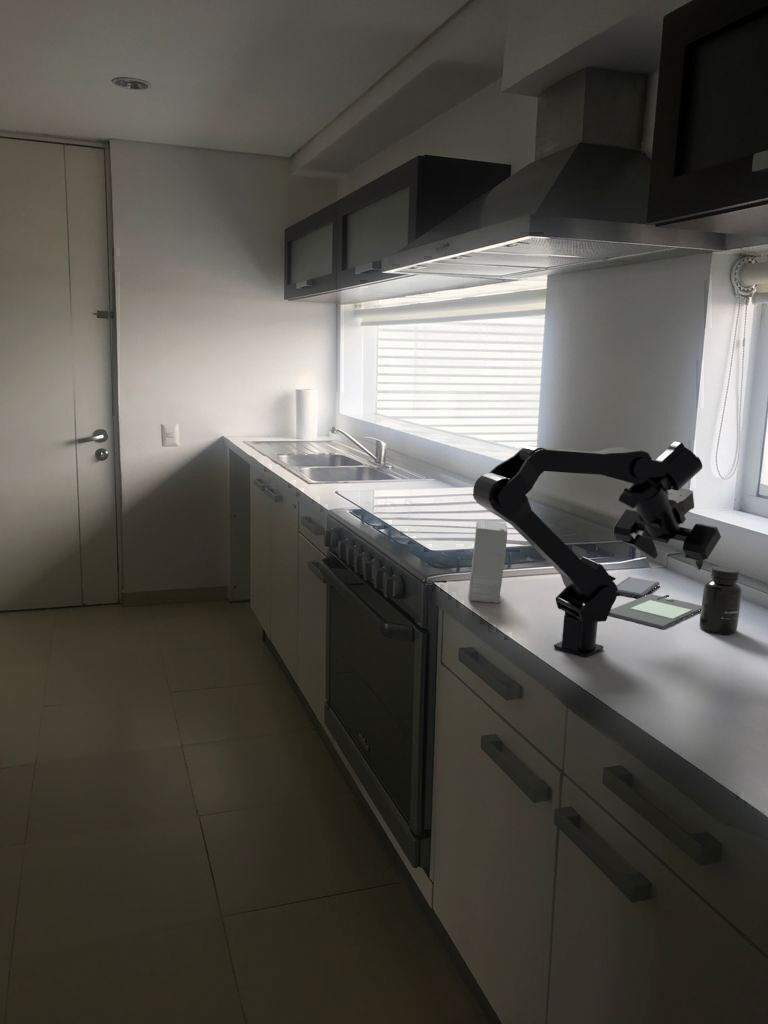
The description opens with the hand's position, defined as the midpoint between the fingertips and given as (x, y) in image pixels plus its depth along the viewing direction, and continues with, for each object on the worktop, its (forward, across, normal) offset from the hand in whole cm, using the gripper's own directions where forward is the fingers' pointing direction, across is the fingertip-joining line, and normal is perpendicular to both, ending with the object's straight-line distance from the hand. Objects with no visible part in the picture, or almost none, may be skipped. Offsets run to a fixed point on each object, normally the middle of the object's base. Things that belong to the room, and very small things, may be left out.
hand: (677, 562), depth 160 cm
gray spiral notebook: (+17, +9, +2) cm, 19 cm away
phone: (+25, +21, -6) cm, 33 cm away
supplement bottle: (+16, -5, +2) cm, 17 cm away
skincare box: (+2, +35, +19) cm, 40 cm away
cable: (+22, +17, -4) cm, 28 cm away
